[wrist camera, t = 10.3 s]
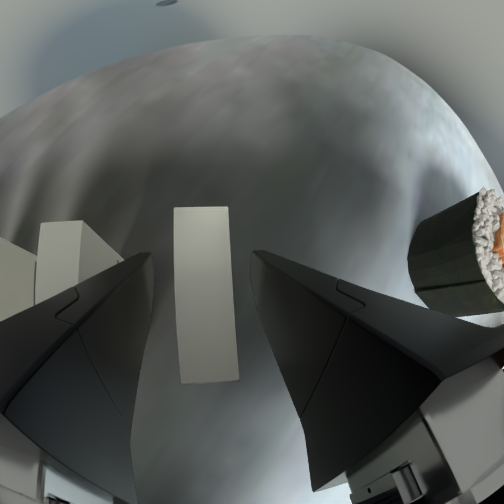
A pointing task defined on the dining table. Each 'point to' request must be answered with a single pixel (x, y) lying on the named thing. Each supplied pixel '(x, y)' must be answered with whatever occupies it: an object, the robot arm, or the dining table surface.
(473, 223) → the sushi
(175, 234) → the domino
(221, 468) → the dining table surface
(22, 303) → the domino
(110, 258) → the domino
